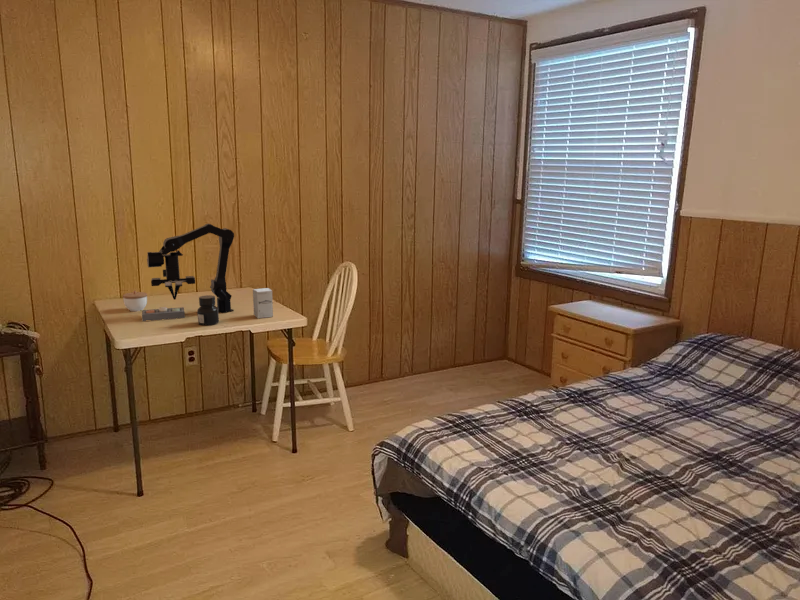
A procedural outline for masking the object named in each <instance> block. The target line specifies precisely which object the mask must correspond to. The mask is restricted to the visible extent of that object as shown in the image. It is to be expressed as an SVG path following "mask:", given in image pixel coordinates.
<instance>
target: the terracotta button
mask: <svg viewBox="0 0 800 600" xmlns="http://www.w3.org/2000/svg"><path fill="white" fill-rule="evenodd" d="M147 310H148V311H146V313H155V310H152V309H147Z"/></svg>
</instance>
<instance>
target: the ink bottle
mask: <svg viewBox="0 0 800 600" xmlns="http://www.w3.org/2000/svg"><path fill="white" fill-rule="evenodd" d="M198 301H199V302H198V303H199V307H198V308H197V313H196V314H197V323H198V325H200V326H214V325H218V323H219V322H220V320H219V319H220V317H219V316H220V315H219V312H218V308H217V305H216V295H211V294H210V295H207V294H206V295H200V296H198Z"/></svg>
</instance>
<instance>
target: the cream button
mask: <svg viewBox="0 0 800 600" xmlns="http://www.w3.org/2000/svg"><path fill="white" fill-rule="evenodd" d="M167 308H168V307H167V306H161V307H158V309H159V312H168V310H167Z"/></svg>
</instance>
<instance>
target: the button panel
mask: <svg viewBox="0 0 800 600" xmlns="http://www.w3.org/2000/svg"><path fill="white" fill-rule="evenodd" d="M174 308H175V307H170V308H168V307H167V310H168V312H159V308H155V309H153V308H152V309H151V310H155V313H146V311H148V310H149V309H143V310H142V311H141V320H142V322H147V321H146V320H151V321H162V319H164V320H175V319H176V318H177V319H185V318H186V317H185V307H184V306H181V307H179V308H180V311H172V309H174ZM177 319H176V320H177Z"/></svg>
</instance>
